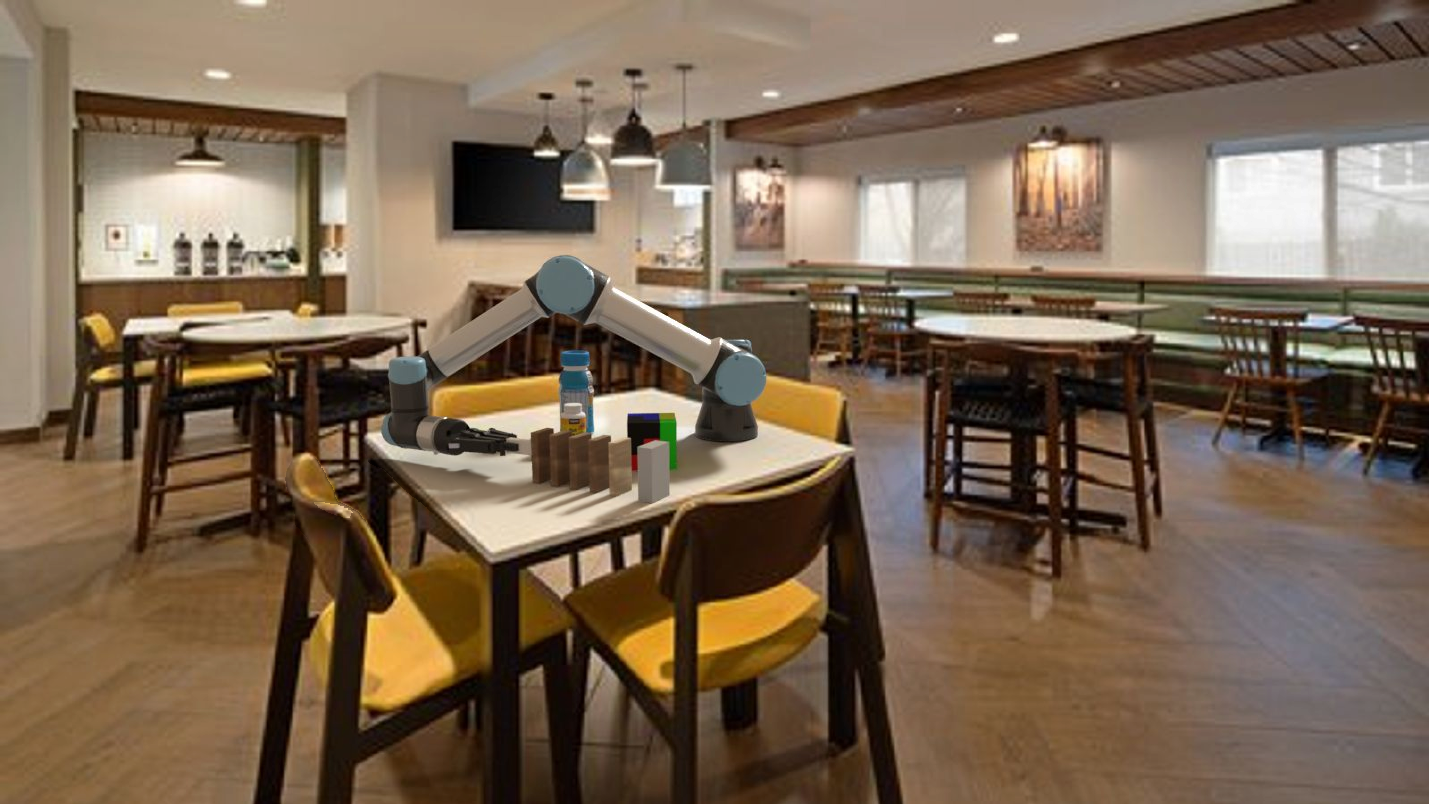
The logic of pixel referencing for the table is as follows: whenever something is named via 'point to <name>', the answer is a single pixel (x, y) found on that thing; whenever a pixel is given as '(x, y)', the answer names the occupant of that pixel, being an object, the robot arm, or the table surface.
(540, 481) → the domino
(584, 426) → the supplement bottle
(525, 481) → the table surface
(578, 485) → the domino
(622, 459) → the domino
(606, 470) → the domino
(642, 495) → the rectangular block
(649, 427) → the puzzle toy
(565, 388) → the beverage bottle
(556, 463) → the domino
